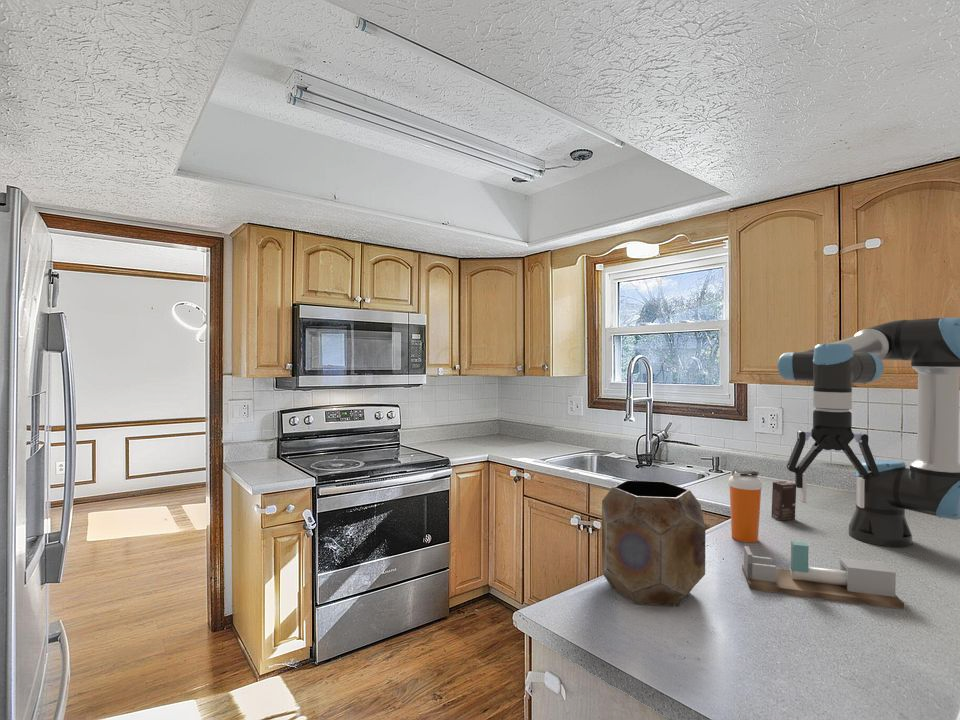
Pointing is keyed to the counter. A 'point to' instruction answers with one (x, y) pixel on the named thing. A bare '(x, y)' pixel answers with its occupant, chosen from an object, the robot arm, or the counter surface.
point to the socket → (758, 567)
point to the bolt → (811, 573)
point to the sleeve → (869, 577)
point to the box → (783, 500)
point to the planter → (652, 542)
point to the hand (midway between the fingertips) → (831, 504)
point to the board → (820, 590)
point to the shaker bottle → (745, 505)
